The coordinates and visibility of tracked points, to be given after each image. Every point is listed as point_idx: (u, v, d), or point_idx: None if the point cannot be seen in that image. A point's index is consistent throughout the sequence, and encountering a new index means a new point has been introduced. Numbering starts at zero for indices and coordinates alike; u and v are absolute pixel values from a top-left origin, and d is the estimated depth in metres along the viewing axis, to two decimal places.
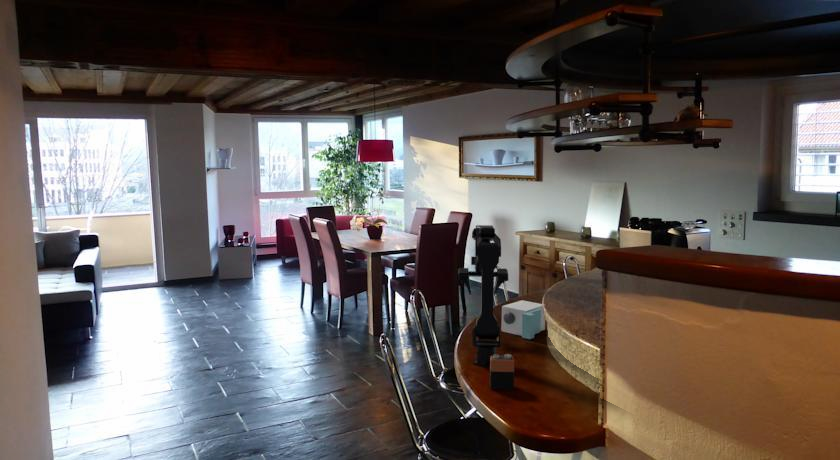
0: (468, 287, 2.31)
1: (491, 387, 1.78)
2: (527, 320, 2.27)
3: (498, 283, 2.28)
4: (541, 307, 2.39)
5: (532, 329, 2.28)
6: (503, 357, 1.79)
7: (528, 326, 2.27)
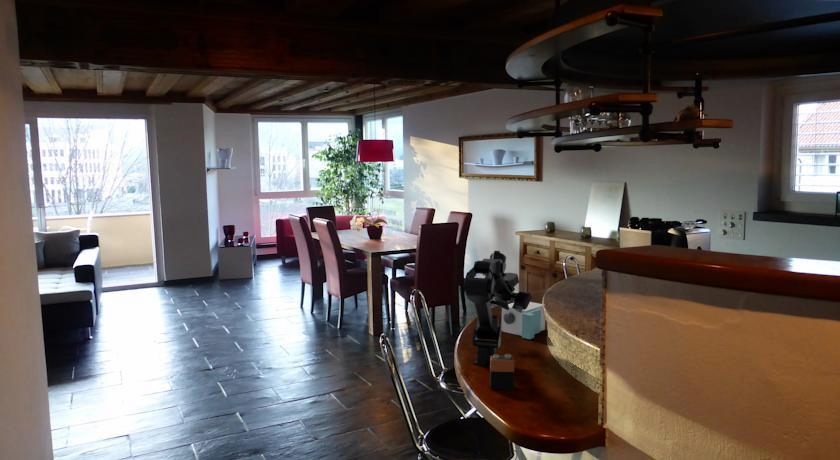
0: (500, 306, 2.20)
1: (491, 387, 1.78)
2: (527, 320, 2.27)
3: (514, 308, 2.14)
4: (541, 307, 2.39)
5: (532, 329, 2.28)
6: (503, 357, 1.79)
7: (528, 326, 2.27)
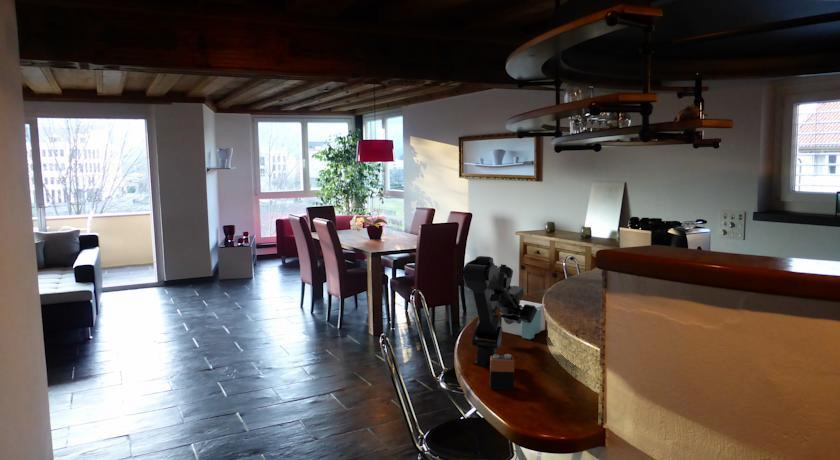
0: (511, 320, 2.22)
1: (491, 387, 1.78)
2: None
3: (513, 320, 2.19)
4: (541, 307, 2.39)
5: (532, 329, 2.28)
6: (503, 357, 1.79)
7: (528, 326, 2.27)
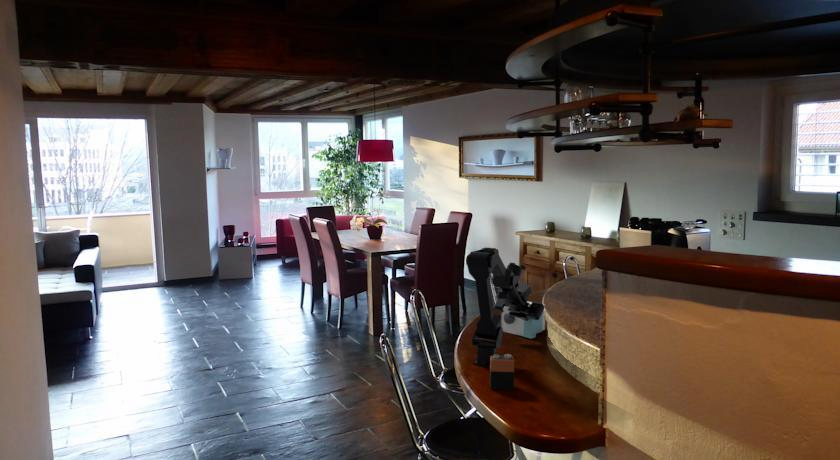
0: (518, 317, 2.25)
1: (491, 387, 1.78)
2: (529, 320, 2.28)
3: (521, 317, 2.22)
4: None
5: (534, 328, 2.29)
6: (503, 357, 1.79)
7: (530, 325, 2.28)
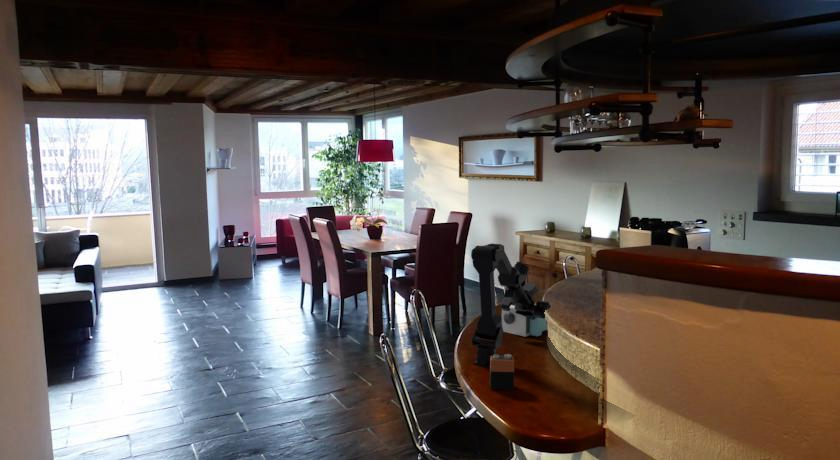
0: (525, 316, 2.28)
1: (491, 387, 1.78)
2: (535, 318, 2.31)
3: (527, 316, 2.25)
4: None
5: (539, 326, 2.31)
6: (503, 357, 1.79)
7: (536, 323, 2.31)
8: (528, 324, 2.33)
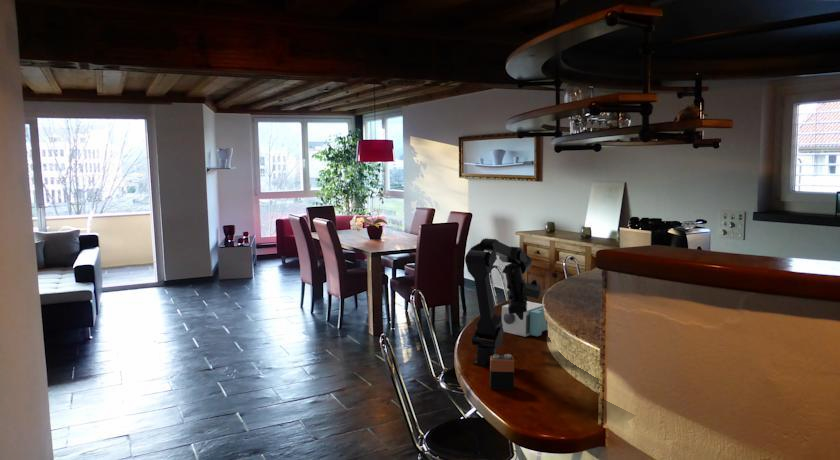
0: None
1: (491, 387, 1.78)
2: (535, 318, 2.31)
3: None
4: (541, 307, 2.39)
5: (539, 326, 2.31)
6: (503, 357, 1.79)
7: (536, 323, 2.31)
8: (528, 324, 2.33)
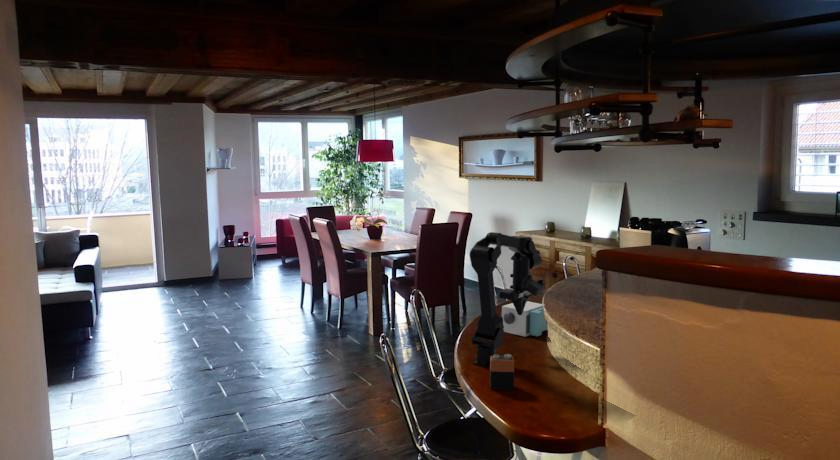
0: None
1: (491, 387, 1.78)
2: (535, 318, 2.31)
3: None
4: (541, 307, 2.39)
5: (539, 326, 2.31)
6: (503, 357, 1.79)
7: (536, 323, 2.31)
8: (528, 324, 2.33)
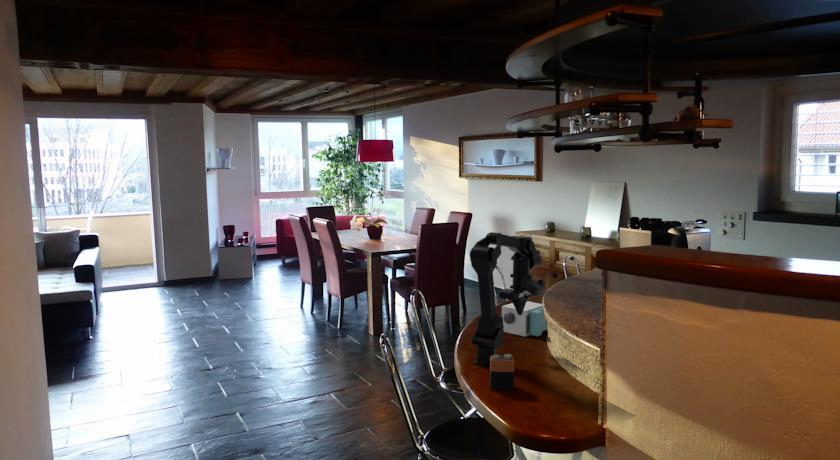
0: None
1: (491, 387, 1.78)
2: (535, 318, 2.31)
3: None
4: (541, 307, 2.39)
5: (539, 326, 2.31)
6: (503, 357, 1.79)
7: (536, 323, 2.31)
8: (528, 324, 2.33)
